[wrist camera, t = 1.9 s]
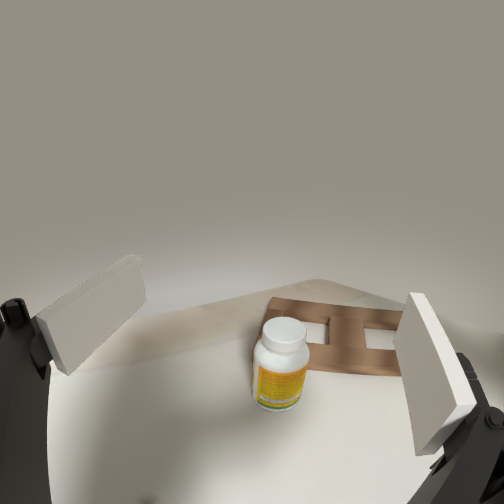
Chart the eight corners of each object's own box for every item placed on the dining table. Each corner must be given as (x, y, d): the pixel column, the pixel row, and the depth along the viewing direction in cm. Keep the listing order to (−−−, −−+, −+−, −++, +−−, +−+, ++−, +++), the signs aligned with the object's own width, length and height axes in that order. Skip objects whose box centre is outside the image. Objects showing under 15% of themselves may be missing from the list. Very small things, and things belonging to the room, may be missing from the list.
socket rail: (409, 319, 41) (412, 312, 40) (430, 376, 28) (434, 368, 28) (271, 304, 46) (272, 297, 46) (251, 360, 33) (252, 352, 33)
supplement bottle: (244, 386, 29) (245, 319, 26) (285, 373, 31) (294, 307, 28) (265, 420, 25) (272, 354, 21) (309, 403, 27) (325, 336, 23)
